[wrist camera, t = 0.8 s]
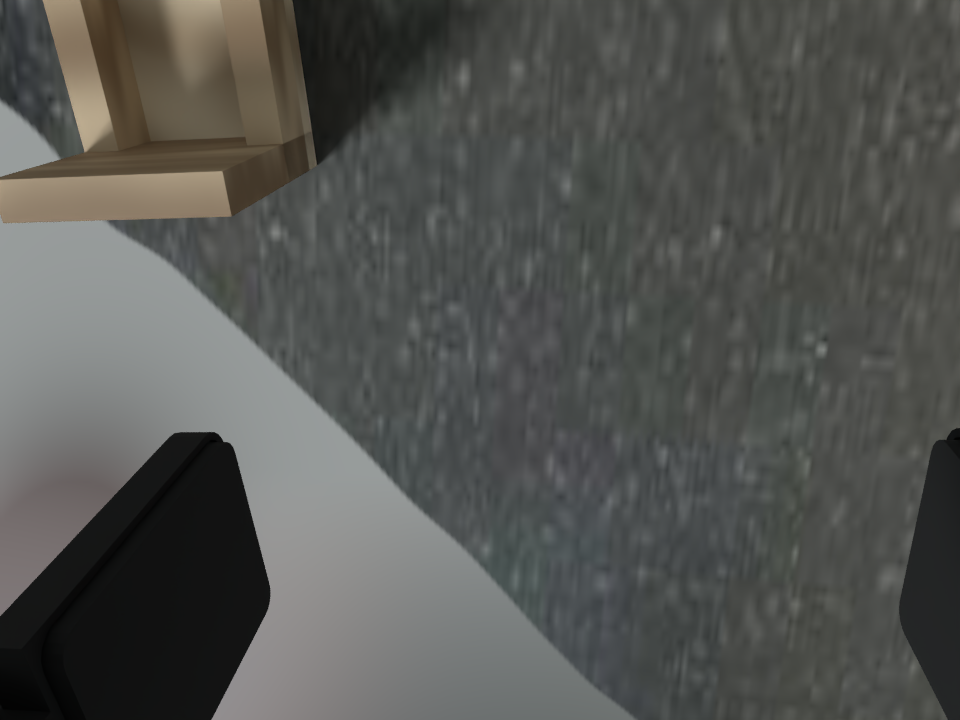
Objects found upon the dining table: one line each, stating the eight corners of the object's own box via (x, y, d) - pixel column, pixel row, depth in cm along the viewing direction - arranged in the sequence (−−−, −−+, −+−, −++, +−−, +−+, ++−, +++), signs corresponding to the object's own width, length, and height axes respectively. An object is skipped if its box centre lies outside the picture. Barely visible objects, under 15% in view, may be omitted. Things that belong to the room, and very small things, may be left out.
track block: (62, -137, 29) (-136, -192, 21) (268, -158, 28) (142, -225, 20) (139, 172, 34) (3, 223, 26) (317, 165, 33) (231, 216, 25)
